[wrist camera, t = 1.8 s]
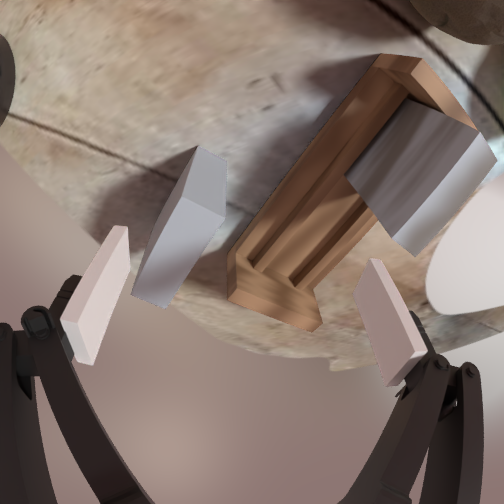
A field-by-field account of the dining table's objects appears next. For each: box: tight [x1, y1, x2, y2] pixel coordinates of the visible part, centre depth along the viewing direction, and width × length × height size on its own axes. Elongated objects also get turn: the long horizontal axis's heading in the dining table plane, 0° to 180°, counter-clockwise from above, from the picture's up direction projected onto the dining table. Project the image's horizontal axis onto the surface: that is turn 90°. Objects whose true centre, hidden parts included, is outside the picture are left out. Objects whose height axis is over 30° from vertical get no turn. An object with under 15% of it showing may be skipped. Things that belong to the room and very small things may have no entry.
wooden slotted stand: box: [227, 53, 497, 332], centre depth 28 cm, size 12×30×14 cm, turn 147°
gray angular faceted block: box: [131, 145, 227, 309], centre depth 28 cm, size 4×11×12 cm, turn 147°
